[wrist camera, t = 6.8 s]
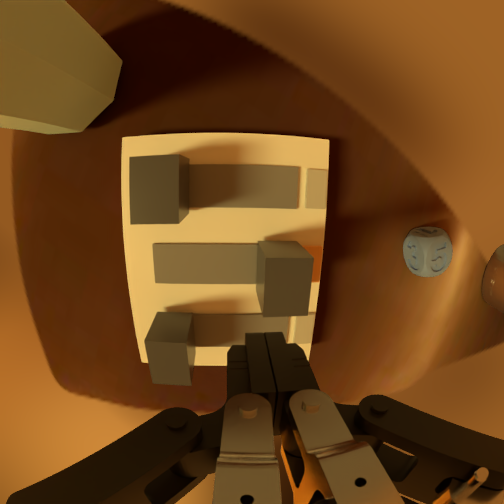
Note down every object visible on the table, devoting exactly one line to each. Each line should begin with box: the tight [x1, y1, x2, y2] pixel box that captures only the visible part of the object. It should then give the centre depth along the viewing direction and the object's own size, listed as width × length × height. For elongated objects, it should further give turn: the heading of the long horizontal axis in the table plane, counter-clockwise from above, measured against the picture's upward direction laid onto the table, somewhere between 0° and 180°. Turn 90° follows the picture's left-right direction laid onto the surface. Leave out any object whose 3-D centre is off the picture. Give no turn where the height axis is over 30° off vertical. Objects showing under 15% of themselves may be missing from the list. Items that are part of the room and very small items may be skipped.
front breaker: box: [129, 154, 189, 225], centre depth 17 cm, size 3×4×4 cm
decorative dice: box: [403, 227, 453, 277], centre depth 24 cm, size 4×4×4 cm
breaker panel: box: [121, 133, 329, 366], centre depth 23 cm, size 16×20×3 cm
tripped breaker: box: [256, 241, 314, 317], centre depth 20 cm, size 3×4×4 cm
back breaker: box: [144, 312, 196, 386], centre depth 20 cm, size 3×4×4 cm
